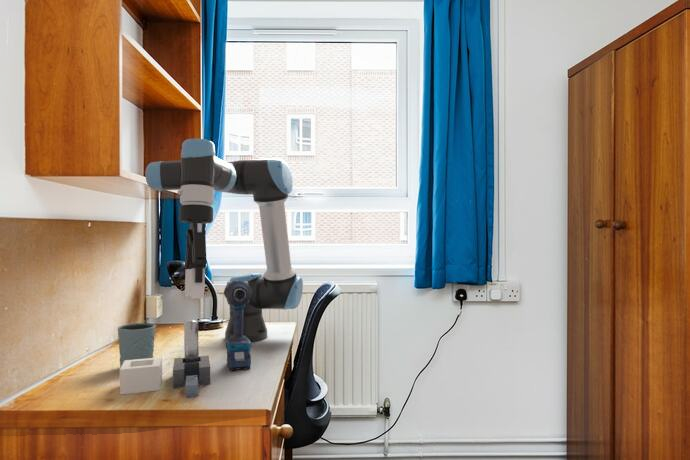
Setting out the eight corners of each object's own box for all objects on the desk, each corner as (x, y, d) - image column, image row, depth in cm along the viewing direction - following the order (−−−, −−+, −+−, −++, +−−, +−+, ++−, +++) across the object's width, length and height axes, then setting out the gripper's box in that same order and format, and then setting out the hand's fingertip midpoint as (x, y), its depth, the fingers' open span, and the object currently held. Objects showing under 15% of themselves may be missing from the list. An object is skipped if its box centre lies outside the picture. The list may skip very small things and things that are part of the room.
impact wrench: (226, 380, 127) (224, 284, 127) (224, 358, 149) (222, 276, 149) (257, 377, 129) (255, 283, 129) (250, 356, 151) (248, 275, 151)
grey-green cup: (123, 364, 145) (122, 323, 145) (158, 361, 147) (158, 321, 147) (114, 373, 135) (113, 330, 135) (153, 370, 137) (152, 328, 137)
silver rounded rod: (185, 375, 132) (184, 320, 132) (198, 374, 133) (197, 319, 133) (184, 379, 129) (183, 322, 129) (199, 377, 130) (198, 321, 130)
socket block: (174, 374, 133) (174, 358, 133) (209, 371, 136) (208, 355, 136) (173, 388, 121) (172, 370, 121) (210, 384, 124) (210, 366, 124)
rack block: (125, 383, 126) (124, 360, 126) (162, 379, 129) (161, 357, 129) (120, 394, 117) (119, 369, 117) (160, 390, 120) (159, 365, 120)
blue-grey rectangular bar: (186, 387, 122) (186, 376, 122) (197, 386, 123) (197, 374, 123) (185, 397, 114) (185, 385, 114) (198, 396, 115) (198, 384, 115)
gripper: (175, 211, 124) (172, 295, 122) (185, 196, 101) (181, 299, 99) (205, 212, 127) (203, 295, 125) (221, 198, 104) (219, 299, 102)
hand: (193, 297), depth 112 cm, fingers open, 13 cm apart
